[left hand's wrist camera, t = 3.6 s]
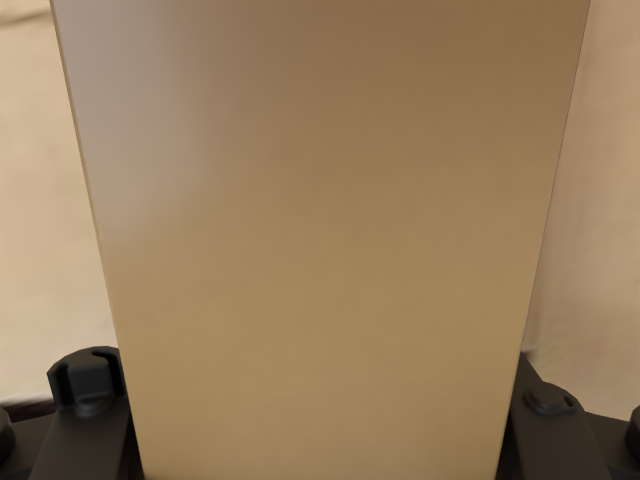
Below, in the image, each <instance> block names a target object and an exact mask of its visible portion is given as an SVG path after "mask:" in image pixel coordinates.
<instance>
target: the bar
mask: <svg viewBox="0 0 640 480" xmlns="http://www.w3.org/2000/svg"><path fill="white" fill-rule="evenodd" d="M50 5H51V10H52V15H53V20H54V25H55V30H56V35H57V40H58V45H59V50H60V55H61V60H62V65H63V71H64V76H65V81H66V86H67V91H68V96H69V101H70V106H71V111H72V116H73V121H74V126H75V131H76V136H77V141H78V146H79V151H80V156H81V161H82V166H83V171H84V176H85V181H86V186H87V191H88V196H89V201H90V206H91V211H92V216H93V221H94V226H95V231H96V236H97V241H98V246H99V251H100V256H101V261H102V266H103V271H104V276H105V281H106V287H107V292H108V297H109V302H110V307H111V312H112V317H113V322H114V327H115V332H116V337H117V342H118V347H119V352H120V357H121V362H122V367H123V372H124V377H125V382H126V387H127V392H128V397H129V402H130V407H131V412H132V417H133V422H134V427H135V432H136V437H137V442H138V447H139V452H140V457H141V462H142V467H143V472H144V477H145V480H495V477H496V472H497V467H498V462H499V457H500V452H501V447H502V442H503V437H504V432H505V427H506V422H507V417H508V411H509V406H510V401H511V396H512V391H513V386H514V381H515V376H516V371H517V366H518V361H519V356H520V351H521V346H522V341H523V336H524V331H525V326H526V321H527V316H528V311H529V306H530V301H531V296H532V291H533V286H534V281H535V276H536V271H537V266H538V261H539V256H540V251H541V246H542V241H543V236H544V231H545V226H546V221H547V216H548V211H549V206H550V201H551V196H552V191H553V186H554V181H555V176H556V171H557V166H558V161H559V156H560V151H561V146H562V141H563V136H564V131H565V126H566V121H567V116H568V111H569V106H570V100H571V95H572V90H573V85H574V80H575V75H576V70H577V65H578V60H579V55H580V50H581V45H582V40H583V35H584V30H585V25H586V20H587V15H588V10H589V5H590V0H50Z"/></svg>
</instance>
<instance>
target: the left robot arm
mask: <svg viewBox="0 0 640 480" xmlns="http://www.w3.org/2000/svg"><path fill="white" fill-rule="evenodd" d="M47 376H48V380H49V384H50V387H51V391H52V394H53V398H54V402H55V405H56V409H57V410H56V412H55V413H54V414H51V415H47V416H43V417H39V418H34V419H30V420H25V421H21V422H16V423H12V424H11V422H10V419H9V416H8V413H7V412H6V411H5V410H4V409H2V408H1V407H0V480H145V477H144V472H143V467H142V462H141V457H140V452H139V447H138V442H137V437H136V432H135V427H134V422H133V417H132V412H131V407H130V402H129V397H128V392H127V387H126V382H125V377H124V372H123V367H122V362H121V357H120V352H119V349H118V348H114V347H109V346H97V347H90V348H86V349H82V350H78V351H76V352H74V353H72V354H69V355H67V356H65V357H63V358H62V359H61V360H59V361H58V362H56V363H55V364H54V365H53V366H52V367H51V368H50V369H49V371H48V372H47ZM495 480H640V405H639V406H638V407H637V408H635V409H634V410H633V412H632V415H631V418H630V421H629V422H627V421H623V420H618V419H614V418H609V417H605V416H600V415H596V414H592V413H589V412H585V411H584V409H583V407H582V406H581V404H580V403H579V402H578V400H577V399H576V398H575V397H574V396H572V395H571V394H570V393H568V392H567V391H566V390H564V389H562V388H560V387H558V386H556V385H554V384H551V383H547V382H544V381H542V379H541V378H540V377H539V375H538V374H537V373H536V371H535V370H534V368H533V367H532V366H531V364H530V363H529V361H528V360H527V359H526V357H525V356H524V355H523V353H522V352H521V351H520V356H519V361H518V366H517V371H516V376H515V381H514V386H513V391H512V396H511V401H510V406H509V411H508V417H507V422H506V427H505V432H504V437H503V442H502V447H501V452H500V457H499V462H498V467H497V472H496V477H495Z"/></svg>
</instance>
